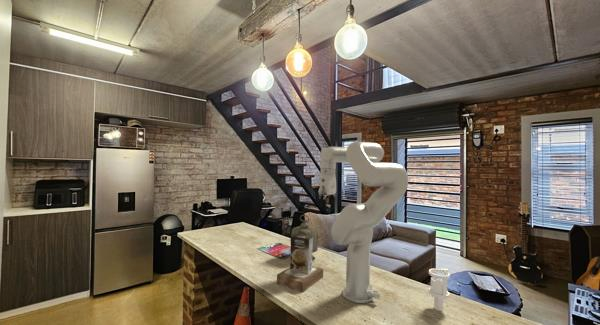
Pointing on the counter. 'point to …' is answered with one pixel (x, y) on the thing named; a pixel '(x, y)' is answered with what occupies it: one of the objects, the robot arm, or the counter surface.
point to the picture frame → (299, 278)
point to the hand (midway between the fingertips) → (327, 205)
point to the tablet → (278, 250)
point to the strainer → (439, 287)
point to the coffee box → (301, 253)
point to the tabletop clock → (307, 233)
